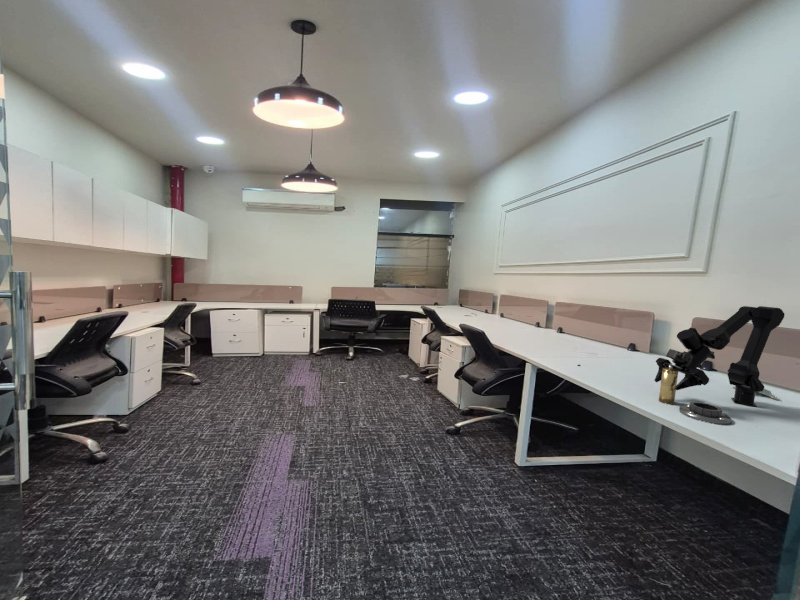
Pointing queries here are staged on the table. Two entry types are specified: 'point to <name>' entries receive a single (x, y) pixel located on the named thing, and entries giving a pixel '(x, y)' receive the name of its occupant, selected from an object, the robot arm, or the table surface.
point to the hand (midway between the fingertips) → (665, 385)
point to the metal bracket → (766, 393)
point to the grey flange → (705, 413)
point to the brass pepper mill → (668, 385)
